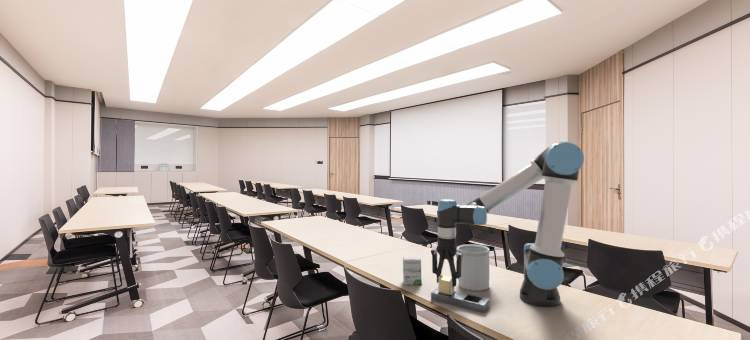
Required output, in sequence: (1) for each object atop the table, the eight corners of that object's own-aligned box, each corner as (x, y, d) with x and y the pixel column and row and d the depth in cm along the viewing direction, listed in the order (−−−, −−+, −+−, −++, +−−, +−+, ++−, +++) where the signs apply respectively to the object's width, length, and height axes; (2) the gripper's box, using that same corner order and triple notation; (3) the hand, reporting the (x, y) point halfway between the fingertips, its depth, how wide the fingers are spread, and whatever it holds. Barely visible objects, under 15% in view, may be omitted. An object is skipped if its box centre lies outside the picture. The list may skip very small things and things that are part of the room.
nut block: (453, 292, 138) (453, 278, 137) (449, 295, 134) (449, 281, 134) (443, 289, 140) (443, 276, 140) (439, 293, 137) (439, 279, 136)
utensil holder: (454, 288, 149) (453, 250, 149) (459, 278, 163) (459, 243, 162) (488, 293, 143) (487, 253, 143) (491, 282, 157) (491, 245, 156)
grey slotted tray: (489, 306, 130) (489, 298, 130) (483, 313, 124) (483, 305, 124) (438, 294, 143) (438, 287, 143) (431, 299, 137) (431, 292, 137)
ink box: (421, 281, 159) (421, 257, 159) (421, 285, 154) (421, 259, 154) (403, 280, 160) (402, 256, 160) (403, 284, 155) (402, 259, 155)
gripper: (470, 237, 134) (469, 294, 135) (431, 232, 144) (431, 284, 145) (463, 241, 128) (463, 300, 129) (423, 235, 138) (423, 290, 139)
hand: (446, 292), depth 137 cm, fingers closed on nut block, 4 cm apart
